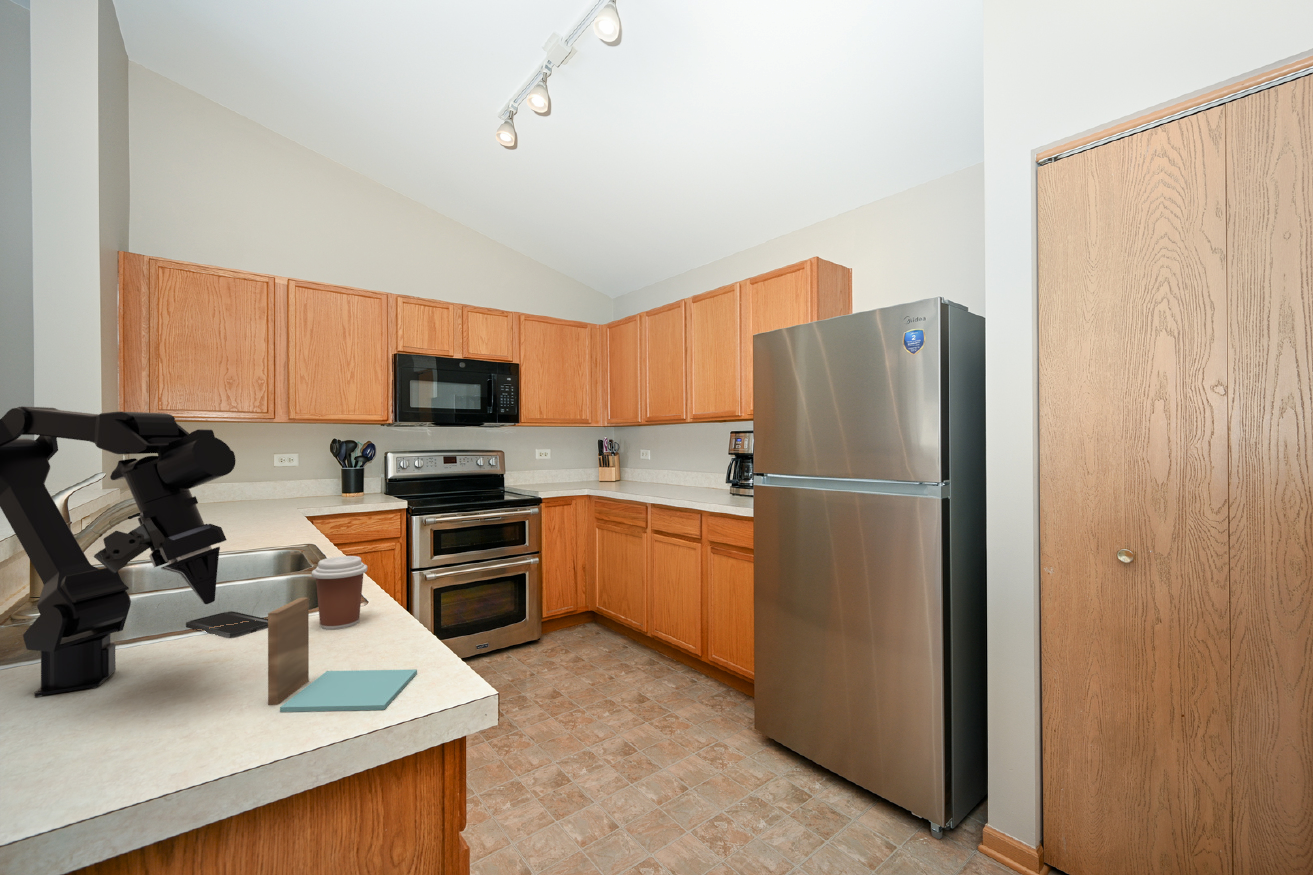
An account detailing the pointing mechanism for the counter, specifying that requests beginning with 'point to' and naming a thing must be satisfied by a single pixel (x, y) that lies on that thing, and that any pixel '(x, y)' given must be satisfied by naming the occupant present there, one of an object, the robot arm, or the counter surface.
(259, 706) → the counter surface
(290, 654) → the walnut tile
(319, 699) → the mat
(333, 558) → the coffee cup
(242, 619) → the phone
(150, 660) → the counter surface
